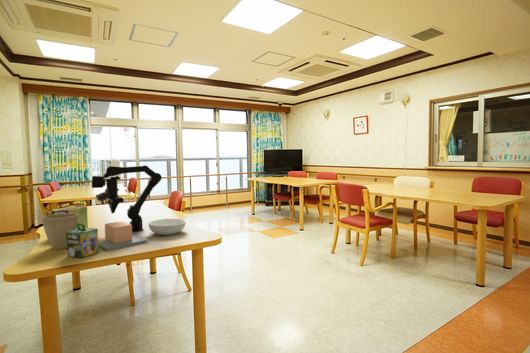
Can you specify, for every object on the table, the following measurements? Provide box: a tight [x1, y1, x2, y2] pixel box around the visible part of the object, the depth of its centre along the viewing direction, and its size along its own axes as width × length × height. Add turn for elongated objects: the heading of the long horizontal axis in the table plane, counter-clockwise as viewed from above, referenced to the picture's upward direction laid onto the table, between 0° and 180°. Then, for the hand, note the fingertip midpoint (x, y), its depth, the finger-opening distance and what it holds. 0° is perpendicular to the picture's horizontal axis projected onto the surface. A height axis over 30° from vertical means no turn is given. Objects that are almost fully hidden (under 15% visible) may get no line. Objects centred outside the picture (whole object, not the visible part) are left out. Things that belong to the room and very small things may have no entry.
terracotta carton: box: [104, 220, 133, 243], centre depth 152 cm, size 9×8×13 cm
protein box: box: [51, 205, 89, 229], centre depth 168 cm, size 10×15×16 cm
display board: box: [98, 233, 148, 252], centre depth 150 cm, size 20×16×2 cm
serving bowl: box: [148, 218, 186, 236], centre depth 171 cm, size 21×21×7 cm
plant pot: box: [41, 213, 78, 250], centre depth 143 cm, size 15×15×16 cm
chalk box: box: [66, 223, 100, 259], centre depth 132 cm, size 9×9×15 cm
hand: (112, 213), depth 170 cm, fingers closed
